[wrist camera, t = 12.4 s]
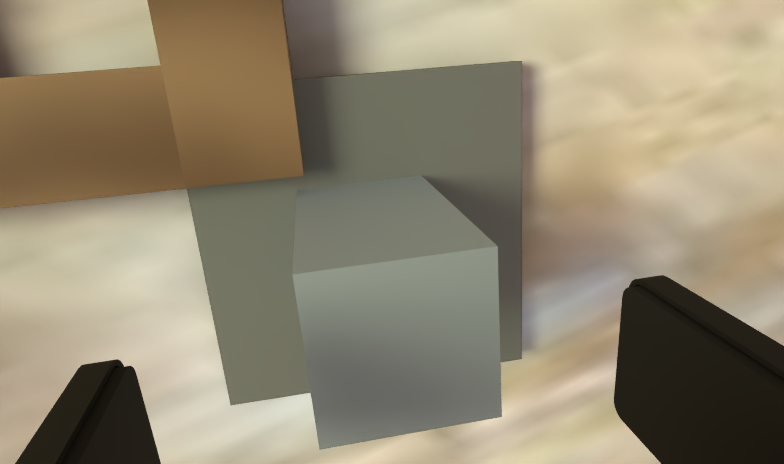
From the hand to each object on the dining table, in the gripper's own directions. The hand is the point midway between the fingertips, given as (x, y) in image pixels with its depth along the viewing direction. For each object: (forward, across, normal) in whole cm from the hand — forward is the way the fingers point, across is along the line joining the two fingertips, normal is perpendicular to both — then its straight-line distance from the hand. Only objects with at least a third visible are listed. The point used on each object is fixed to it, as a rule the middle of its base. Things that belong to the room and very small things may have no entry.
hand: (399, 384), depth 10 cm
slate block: (+10, -1, +1) cm, 10 cm away
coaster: (+11, -1, +1) cm, 11 cm away
